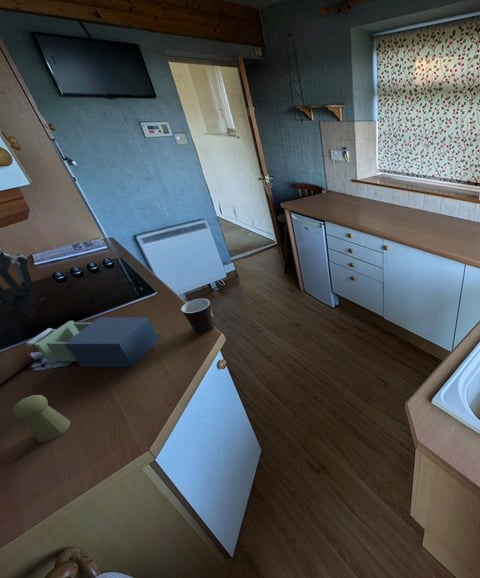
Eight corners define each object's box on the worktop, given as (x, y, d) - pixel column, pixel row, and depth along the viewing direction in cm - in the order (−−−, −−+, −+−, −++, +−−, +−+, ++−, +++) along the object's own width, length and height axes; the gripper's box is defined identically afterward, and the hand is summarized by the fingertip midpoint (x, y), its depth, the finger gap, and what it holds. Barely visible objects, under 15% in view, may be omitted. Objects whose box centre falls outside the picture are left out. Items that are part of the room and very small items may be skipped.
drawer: (30, 363, 89) (14, 344, 85) (64, 338, 99) (51, 320, 95) (98, 363, 90) (85, 344, 86) (125, 338, 99) (114, 320, 95)
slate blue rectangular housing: (81, 367, 89) (63, 343, 84) (113, 339, 100) (99, 317, 95) (133, 367, 90) (118, 343, 85) (159, 339, 101) (147, 317, 95)
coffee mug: (213, 334, 103) (204, 311, 98) (187, 336, 102) (176, 313, 97) (223, 315, 113) (215, 293, 108) (199, 316, 112) (190, 295, 106)
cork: (33, 432, 71) (3, 404, 66) (66, 415, 76) (40, 386, 70) (40, 447, 69) (8, 418, 63) (73, 427, 73) (47, 398, 67)
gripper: (-73, 264, 58) (7, 336, 74) (15, 237, 68) (69, 306, 83) (-92, 249, 60) (-10, 323, 76) (-4, 225, 69) (53, 295, 85)
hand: (31, 314), depth 79 cm, fingers closed
